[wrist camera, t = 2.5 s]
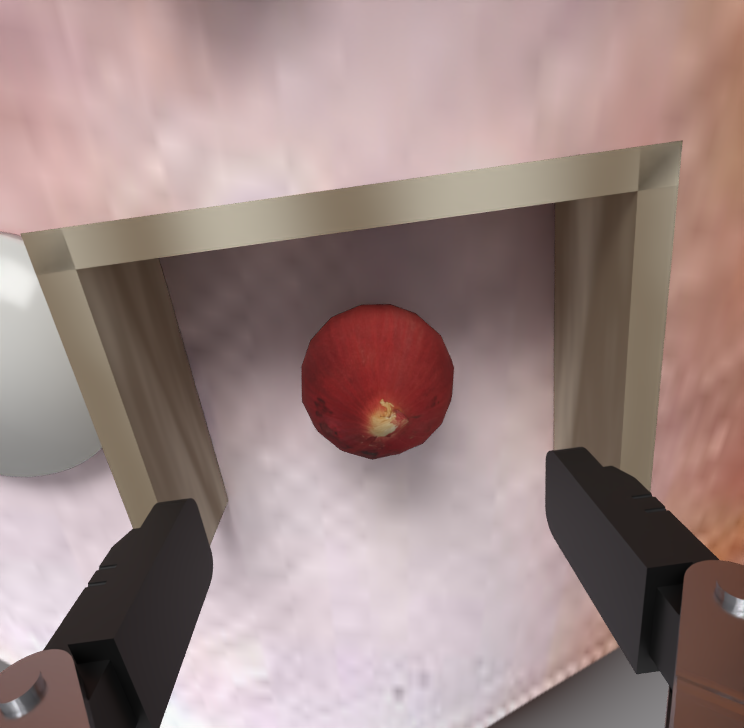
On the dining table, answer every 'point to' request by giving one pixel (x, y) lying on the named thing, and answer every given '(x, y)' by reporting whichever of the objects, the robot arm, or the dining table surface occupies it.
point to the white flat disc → (36, 378)
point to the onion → (377, 380)
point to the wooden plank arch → (356, 212)
